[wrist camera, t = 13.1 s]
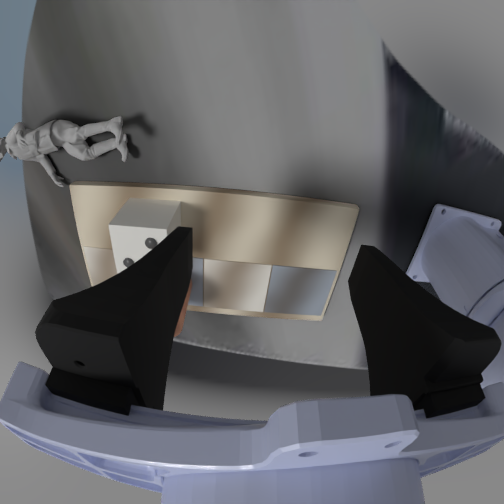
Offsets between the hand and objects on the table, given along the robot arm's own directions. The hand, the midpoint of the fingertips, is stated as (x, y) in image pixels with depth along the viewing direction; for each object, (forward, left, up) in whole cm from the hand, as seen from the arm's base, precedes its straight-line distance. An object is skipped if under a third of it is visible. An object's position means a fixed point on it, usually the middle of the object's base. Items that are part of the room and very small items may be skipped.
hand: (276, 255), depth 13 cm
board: (+4, +8, -10) cm, 13 cm away
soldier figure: (+16, -2, -10) cm, 19 cm away
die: (+8, +4, -9) cm, 13 cm away
